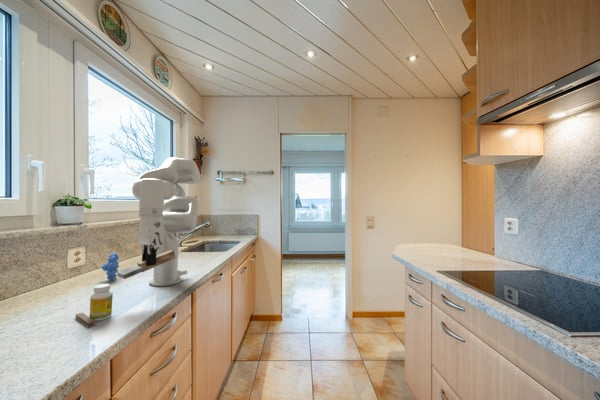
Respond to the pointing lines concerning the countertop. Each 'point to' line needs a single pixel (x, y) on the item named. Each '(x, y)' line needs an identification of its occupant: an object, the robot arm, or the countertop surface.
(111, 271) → the grapes
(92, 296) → the supplement bottle
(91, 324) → the stop strip
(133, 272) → the turner
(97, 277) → the countertop surface
